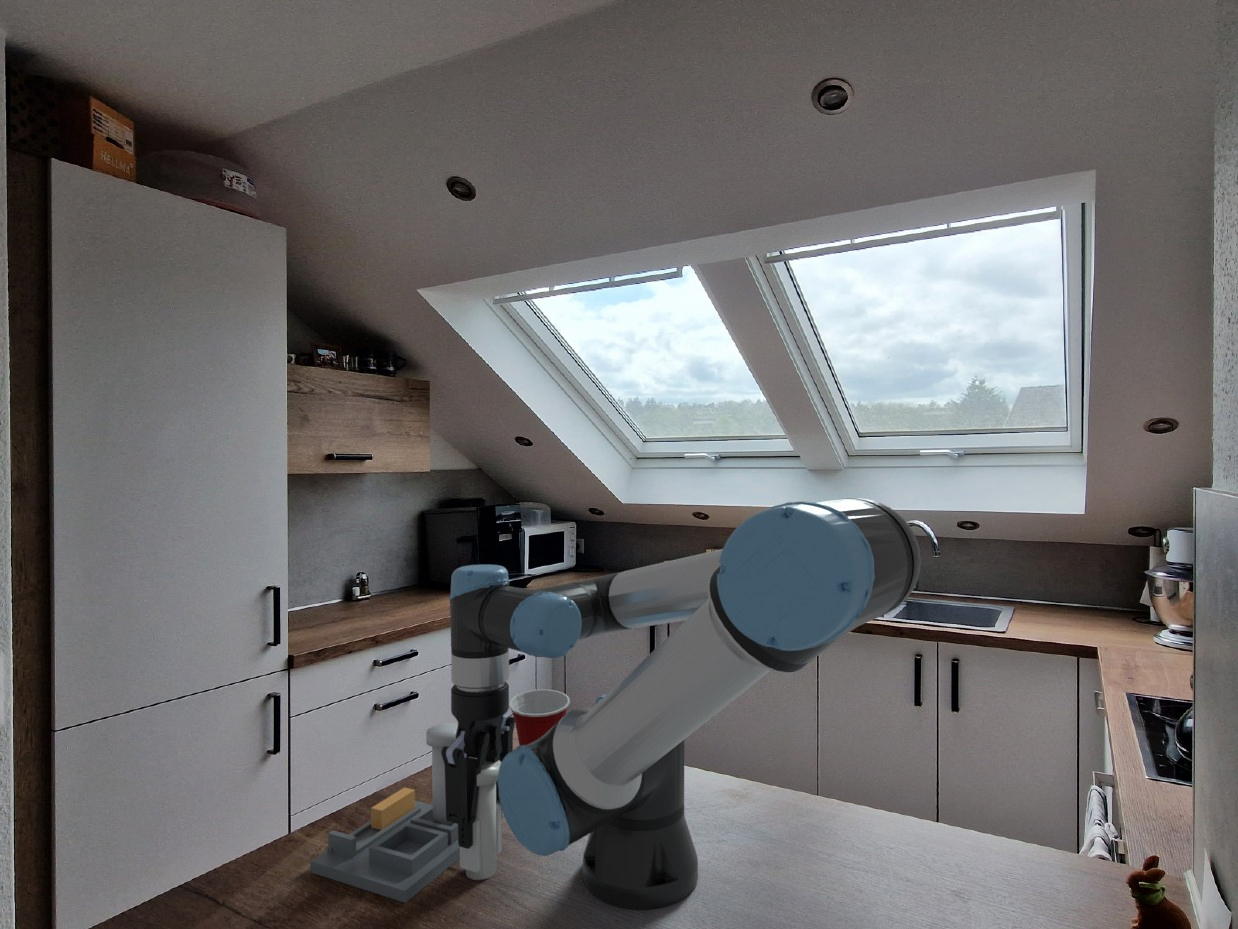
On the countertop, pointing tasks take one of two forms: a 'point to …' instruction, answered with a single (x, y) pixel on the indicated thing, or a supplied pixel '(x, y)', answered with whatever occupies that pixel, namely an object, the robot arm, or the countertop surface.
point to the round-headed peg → (486, 820)
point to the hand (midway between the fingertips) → (481, 858)
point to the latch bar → (392, 808)
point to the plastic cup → (537, 713)
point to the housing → (399, 841)
